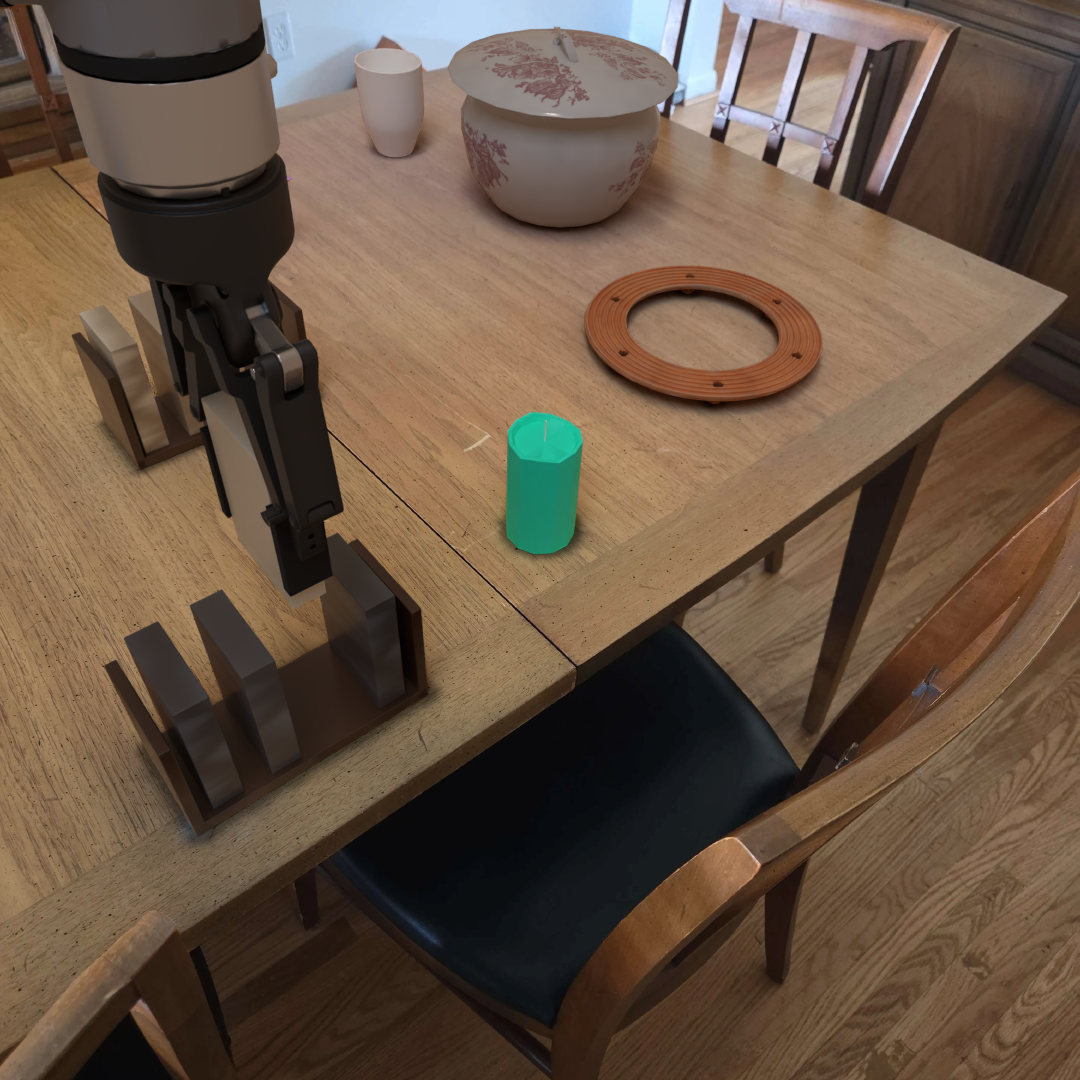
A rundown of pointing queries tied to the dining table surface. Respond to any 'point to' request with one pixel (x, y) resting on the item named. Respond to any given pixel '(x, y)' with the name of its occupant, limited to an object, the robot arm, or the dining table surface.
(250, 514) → the cream book
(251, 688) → the grey rack
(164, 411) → the cream rack
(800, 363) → the ring
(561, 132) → the chamber pot
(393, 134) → the mug
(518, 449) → the candle
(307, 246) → the dining table surface
